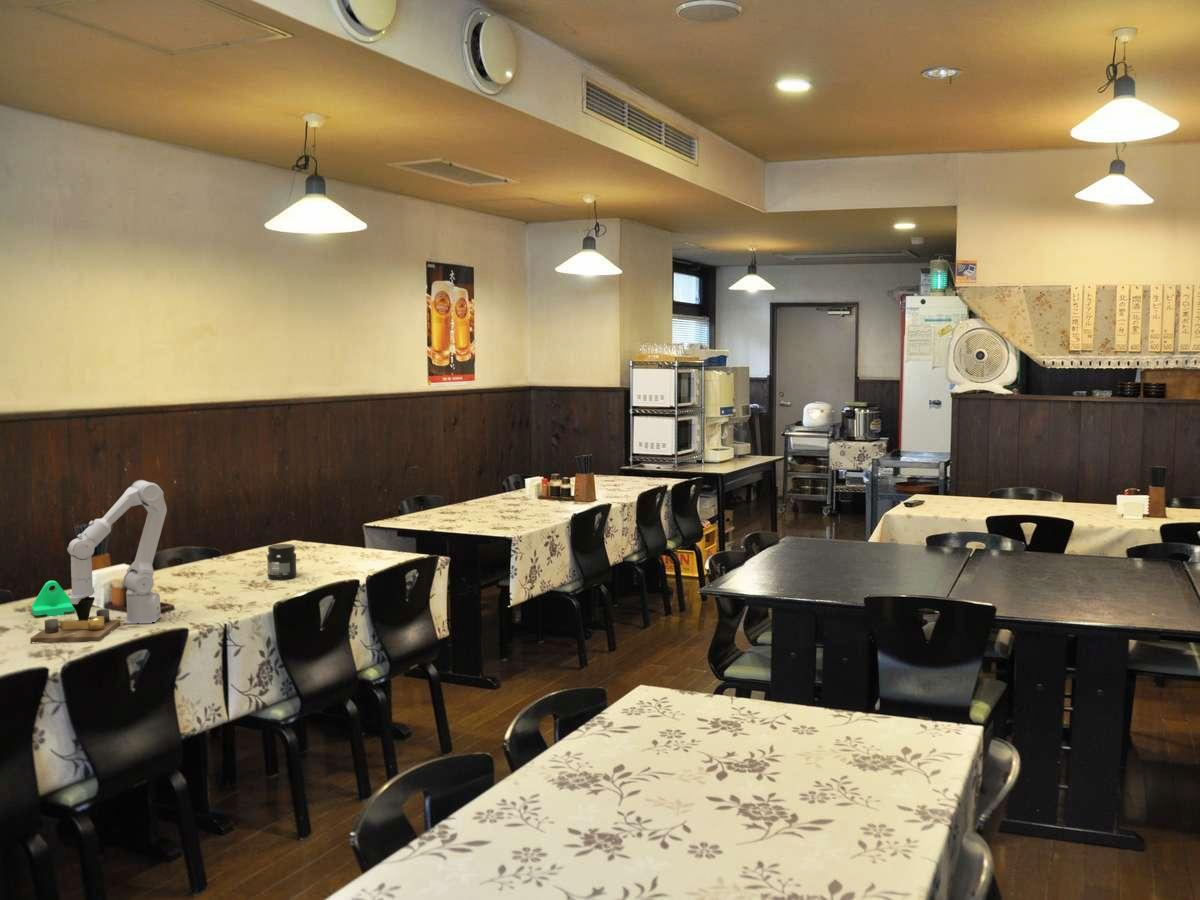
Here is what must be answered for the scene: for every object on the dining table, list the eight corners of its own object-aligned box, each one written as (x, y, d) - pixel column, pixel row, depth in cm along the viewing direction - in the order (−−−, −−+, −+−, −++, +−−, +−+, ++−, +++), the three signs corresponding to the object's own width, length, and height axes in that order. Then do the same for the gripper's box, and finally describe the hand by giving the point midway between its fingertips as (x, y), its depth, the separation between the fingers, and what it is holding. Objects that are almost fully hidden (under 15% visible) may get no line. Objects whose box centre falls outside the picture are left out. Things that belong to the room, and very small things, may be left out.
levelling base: (120, 624, 335) (119, 608, 335) (99, 641, 316) (98, 624, 316) (56, 626, 333) (55, 610, 333) (30, 643, 314) (29, 626, 313)
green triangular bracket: (34, 619, 342) (33, 587, 341) (31, 614, 348) (30, 582, 347) (76, 614, 349) (75, 582, 348) (72, 609, 355) (71, 578, 354)
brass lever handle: (106, 626, 326) (106, 615, 326) (101, 630, 322) (101, 619, 322) (64, 627, 325) (63, 616, 325) (58, 631, 321) (58, 620, 320)
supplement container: (293, 573, 411) (293, 542, 410) (299, 579, 402) (298, 547, 400) (265, 576, 406) (264, 544, 405) (270, 581, 397) (269, 549, 396)
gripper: (76, 573, 334) (78, 616, 335) (58, 583, 320) (60, 628, 321) (100, 572, 335) (102, 615, 336) (83, 583, 321) (85, 628, 322)
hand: (83, 622), depth 329 cm, fingers closed
